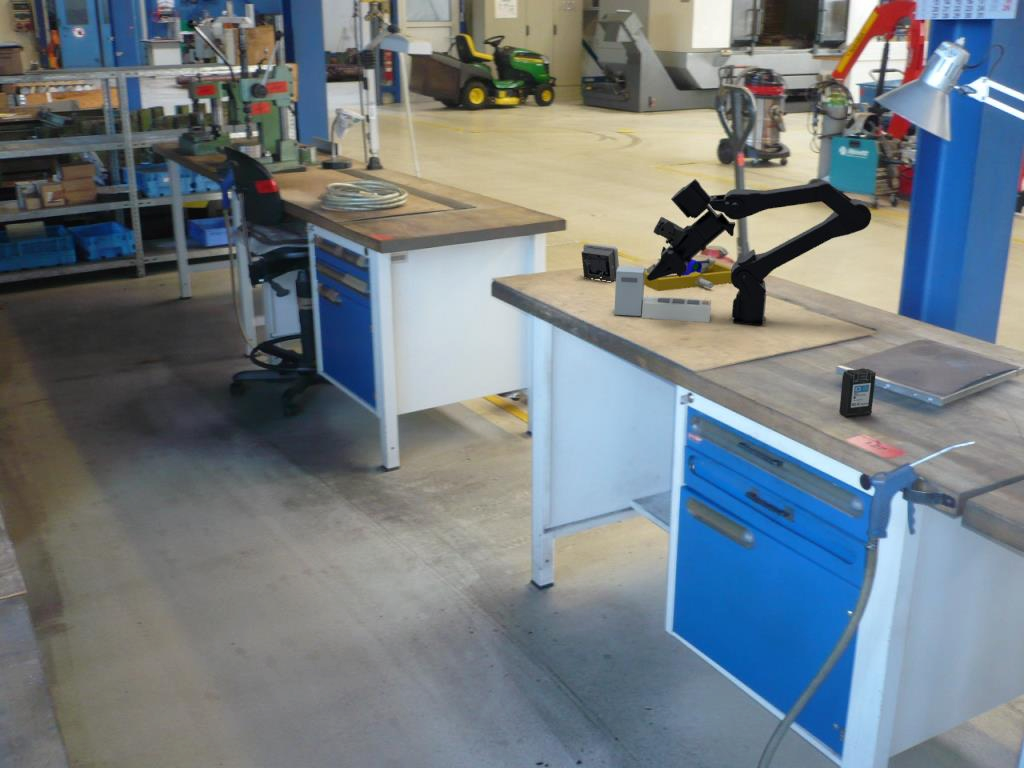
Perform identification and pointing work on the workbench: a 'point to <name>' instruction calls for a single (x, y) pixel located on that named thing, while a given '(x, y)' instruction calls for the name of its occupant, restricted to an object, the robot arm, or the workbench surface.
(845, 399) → the ink cartridge
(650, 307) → the power strip
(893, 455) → the workbench surface
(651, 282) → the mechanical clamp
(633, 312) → the charger
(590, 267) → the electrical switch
